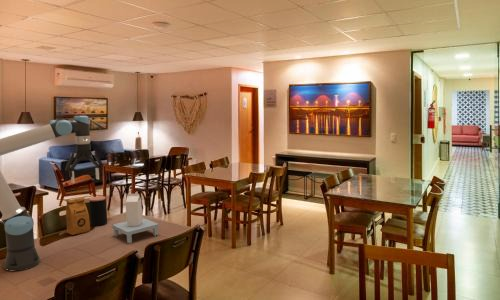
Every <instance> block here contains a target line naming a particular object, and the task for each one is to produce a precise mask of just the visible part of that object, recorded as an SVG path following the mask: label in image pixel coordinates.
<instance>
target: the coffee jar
mask: <svg viewBox="0 0 500 300" xmlns="http://www.w3.org/2000/svg"><path fill="white" fill-rule="evenodd" d="M106 199H107V198H106V196H104V195H102V196H101V195H100V196H98V195H97V196H93V197H90V198H88V201H89V202H88V207H89V208H88V209H89V211H88V212H89V220H90V226H91V227H101V226H105V225H106V224H107V223H108V212H107V211H108V210H107V200H106Z"/></svg>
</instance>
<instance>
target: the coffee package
mask: <svg viewBox="0 0 500 300" xmlns="http://www.w3.org/2000/svg"><path fill="white" fill-rule="evenodd" d="M65 218H66V222H65V223H66V231H67V234H69V235H72V236H73V235H79V234H83V233H87V232H90V230H91V224H90V213H89V211H88V208H87V205H86V201H85V197H79V198H74V199H73V198H72V199H67V200H66V207H65Z"/></svg>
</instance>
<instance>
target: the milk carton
mask: <svg viewBox="0 0 500 300" xmlns="http://www.w3.org/2000/svg"><path fill="white" fill-rule="evenodd" d="M125 214H126V221H127V226H139V225H140V224H141V223H142V218H143V207H142V198H141V196H140V193H127V196H126V199H125Z"/></svg>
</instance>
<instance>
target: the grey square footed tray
mask: <svg viewBox="0 0 500 300" xmlns="http://www.w3.org/2000/svg"><path fill="white" fill-rule="evenodd" d="M159 227H160V225H159V223H157V222H154V221H151V220H149V219H147V218H145V217H142V223H141V224H140V225H139V226H127V220H126V221H122V222H118V223H114V224H112V226H111V228H112V229H113V237H119V233H122V234H124V235H126V243H127V244H131V243H133V239H132V236H133V235H134V234H138V233H143V232H146V231H150V230H152V235H153V236H154V237H156V235H157V236H159V229H158V228H159Z"/></svg>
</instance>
